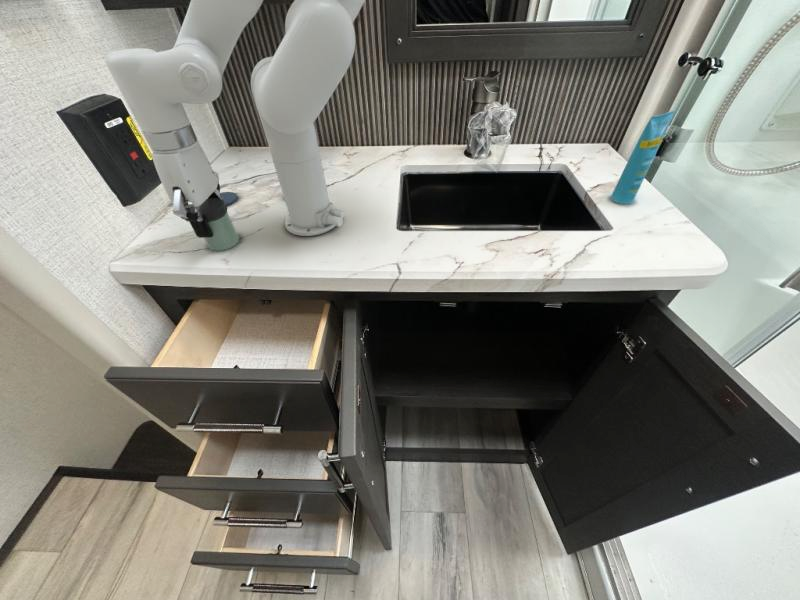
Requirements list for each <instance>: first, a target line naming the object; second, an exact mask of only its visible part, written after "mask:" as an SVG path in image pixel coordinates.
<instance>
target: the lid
mask: <svg viewBox="0 0 800 600" xmlns="http://www.w3.org/2000/svg"><path fill="white" fill-rule="evenodd" d="M228 208H229V207H228V206H226V203H225V202H224V201H223V200H222V199H219V198H207V199H206V200H205V201H204V202H203V203H202V204H201V211H202V217H203V219H206V220H207V221H211V220H214V219H217V218H219V217H221V216H223V215H224V214H225V213H226V212H228ZM190 212H191V213H194V214H195V208H190Z"/></svg>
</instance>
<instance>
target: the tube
mask: <svg viewBox="0 0 800 600" xmlns="http://www.w3.org/2000/svg"><path fill="white" fill-rule="evenodd" d="M675 112H676V109H673V110H670V111H667V112H665V113H662V114H658V115H652V116H651V117H650V118H649V120H648V121H647V123H646V125H645V127H644V129H643V130H642V131H641V134H640V136H639V138H638V140H637V142H636V144H635V146H634V148H633V150H632V153H631V154H630V157H629V158H628V160H627V162H626V164H625V167H624V168H623V170H622V173H621V174H620V177H619V179H618V181H617V183H616V185H615V187H614V190H612V193H611V195H610V199H611V200H612V201H613V202H614V203H616V204H621V205H631V204H632V203H633V202H634V201H635V198H636V196H637V195H638V192H639V190H640V188H641V186H642V184H643V182H644V180H645V177H646V176H647V174H648V171H649V169H650V167H651V165H652V163H653V161H654V158H655V156H656V154H657V152H658V150H659V148H660V146H661V144H662V141H663V140H664V137H665V135H666V133H667V131H668V128H669V126H670V124H671V121H672V119H673V116H674V115H675Z"/></svg>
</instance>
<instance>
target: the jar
mask: <svg viewBox="0 0 800 600" xmlns="http://www.w3.org/2000/svg"><path fill="white" fill-rule="evenodd" d="M207 223H208V225H209V227H210V229H211V231H212V233H213V237H203V239H204V241H205V243H206V245H207V246H208V247H207V248H209V249H210V250H211V251H214V252H221V251H223V252H224V251H226V250H230V249H232V248H234V247H235V246H236V245H237V244H238V243H239V241H240V237H239V235H238V232H237V230H236V227H235V226H234V223H233V221H232V219H231V216H230V214H229V212H228V211H227V212H226V213H225V214H224V215H223V216H221V217H219V218H217V219H214V220H211V221H207Z"/></svg>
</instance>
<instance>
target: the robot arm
mask: <svg viewBox="0 0 800 600" xmlns="http://www.w3.org/2000/svg"><path fill="white" fill-rule="evenodd" d="M263 2H264V0H190V2H189V5H188V8H187V10H186V14H185V16H184V19H183V21H182V25H181V27H180V30H179V33H178V36H177V38H176V40H175V42H174V46H173V47H172V48H170V49H167V50H166V49H165V50H162V51H156V50H154V49H151V48H144V47H136V48H135V47H134V48H125V49H117V50H114V51H110V52H109V53H107V54H106V56H105V64H106V67H107V69H108V71H109V73H110V75H111V76H112V79H113V80H114V82H115V84H116V86H117V88H118V90H119V91H120V94H121V96H122V98H123V99H124V101H125V103H126V105H127V107H128V109H129V110H130V112H131V114H132V116H133V118H134V119H135V121H136V124H137V125H138V127H139V129H140V131H141V133H142V135H143V136H144V139H145V140H146V143H147V144H148V147H149V148H150V150H151V152H152V153H151V159H152V161H153V164H154V168H155V170H156V172H157V175H158V177H159V180H160V182H161V184H162V186H163V188H164V191H165V193H166V195H167V197H168V199H169V201H170V203H171V204H172V213H173V214H174V215H175V216H177V217H179V218H181V220H184V221H185V222H188V223H189V224H190V226H191V229H192V230H193V232H194V234H195V235H196V237H197V238H203V239H204V237H213V233H212V231H211V229H210V227H209V225H208V223H207V220H206V219H203V217H202V211H201V204H202V203H203V202H204V201H205V200H206V199H208V198H219V199H222V194H221V193H222V192H221V185H220V178H219V176H220V175H219V173H217V172H215V171H214V170H213V167H212V165H211V162H210V161H209V158H208V157H207V155H206V153H205V151H204V149H203V148H202V145H201V144H200V143H199V140H198V137H197V135H196V132H195V131H194V128H193V126H192V124H191V122H190V119H189V117H188V115H187V113H186V109H185V107H184V105H183V104H189V105H191V104H192V105H204V104H205V105H206V104H209V103H212V102H214V101H216V100H217V99H218V98H219V97H220V96H221V93H222V90H223V75H224V73H225V70H226V67H227V65H228V62H229V60H230V58H231V55H232V53H233V51H234V49H235V46H236V45H237V42H238V40H239V38H240V36H241V35H242V33H243V31H244V29H245V28H246V26H247V25H248V24H249V22H251V21H252V19H253V18H255V16H256V15H257V13H258V11H259V10H260V8H261V6H262V4H263ZM365 2H366V0H293V2H292V3H291V4H290V7H289V8H288V10H287V13H286V16H285V21H284V33H285V34H284V36H283V38H282V40H281V42H280V43H279V45H278V47H277V48H276V50H275V52H274V55H273V56H267V57H265V58H262V59H261V60H260V61H259V60H258V62H257V63H256V64H255V66H254V68H253V69H252V72H251V75H250V90H251V94H252V95H251V96H252V98H253V102H254V104H255V107H256V110H257V113H258V116H259V119H260V123H261V126H262V128H263V132H264V135H265V139H266V142H267V145H268V149H269V152H270V155H271V159H272V163H273V165H274V166H273V167H274V169H275V173H276V176H277V179H278V183H279V186H280V189H281V193H282V196H283V199H284V203H285V205H286V209H287V212H288V214H287V215H286V217H285V218H284V226H285V229H286V230H287V231H288V232H289V233H291V234H292V235H295V236H300V237H313V236H318V235H322V234H325V233H327V232H330V231H331V230H332V229H334V228H335V227H342V225H343V223H344V222H343V221H344V217H345V213H344V212H342V211H338V210H337V209H336V208H335V203H334V202H330V197H329V193H328V187H327V182H326V177H325V172H324V168H323V162H322V157H321V151H320V146H319V142H318V141H319V140H318V136H317V132H316V127H315V122H316V120H317V118H318V117H319V115H320V114H321V112H322V111H323V110H324V109H325V106H326V105H327V103H328V101H329V100H330V98H331V97H332V96H333V94H334V92H335V90H336V89H337V87H338V85H339V84H340V83H341V81H342V79H343V78H344V76H345V75H346V73H347V71H348V70H349V67H350V65H351V63H352V61H353V57H354V54H355V49H356V31H355V27H354V23H355V20H356V18H357V17H358V15H359V13H360V11H361V9H362V8H363V5H364V3H365ZM190 203H191V204H190ZM190 208H195V214H194V213H191V212H190Z"/></svg>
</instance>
